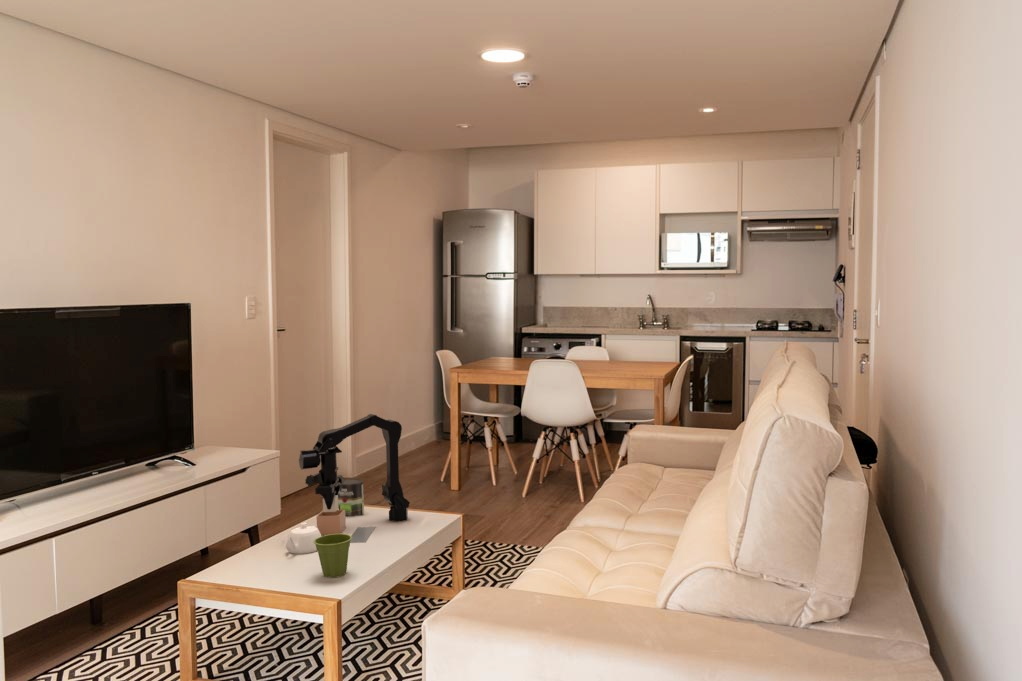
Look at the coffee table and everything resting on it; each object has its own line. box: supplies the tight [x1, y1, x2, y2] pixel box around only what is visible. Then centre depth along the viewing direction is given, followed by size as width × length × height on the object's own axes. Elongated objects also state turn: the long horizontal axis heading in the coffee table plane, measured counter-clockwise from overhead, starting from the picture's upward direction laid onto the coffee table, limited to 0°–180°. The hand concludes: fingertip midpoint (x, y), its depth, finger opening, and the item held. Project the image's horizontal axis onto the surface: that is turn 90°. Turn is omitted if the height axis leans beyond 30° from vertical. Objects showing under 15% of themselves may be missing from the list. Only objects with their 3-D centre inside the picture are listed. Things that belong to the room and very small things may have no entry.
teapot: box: [285, 522, 322, 555], centre depth 274 cm, size 20×12×10 cm, turn 168°
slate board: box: [350, 526, 377, 544], centre depth 290 cm, size 7×20×1 cm, turn 179°
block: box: [322, 495, 339, 512], centre depth 295 cm, size 4×4×5 cm
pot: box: [316, 509, 347, 536], centre depth 295 cm, size 8×8×8 cm
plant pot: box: [313, 533, 352, 578], centre depth 251 cm, size 12×12×11 cm
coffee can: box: [336, 478, 365, 518], centre depth 320 cm, size 10×10×14 cm
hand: (330, 507), depth 295 cm, fingers closed on block, 4 cm apart
